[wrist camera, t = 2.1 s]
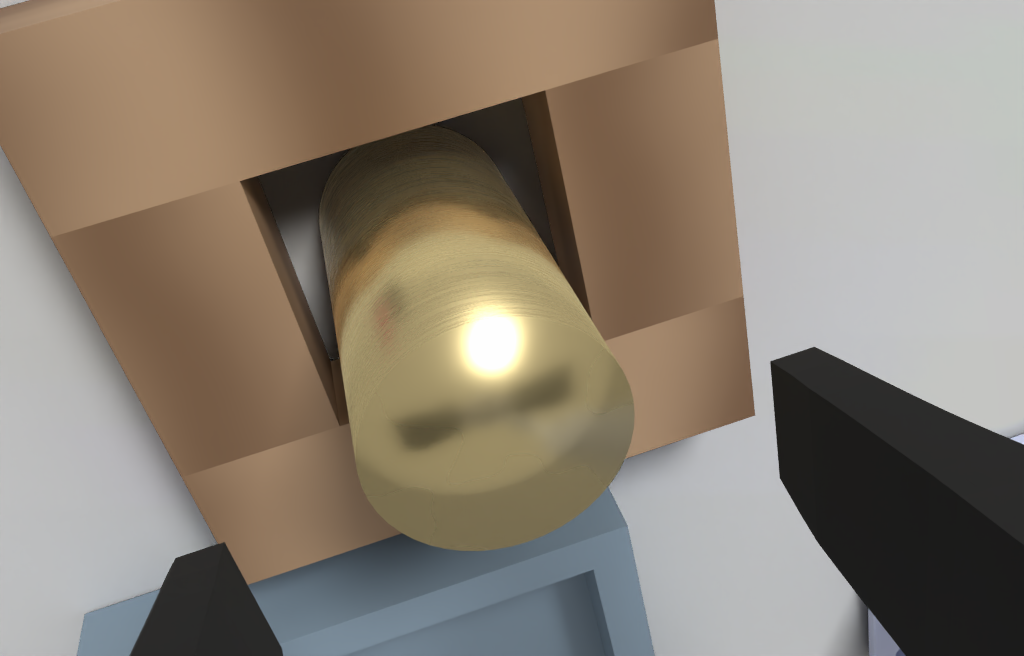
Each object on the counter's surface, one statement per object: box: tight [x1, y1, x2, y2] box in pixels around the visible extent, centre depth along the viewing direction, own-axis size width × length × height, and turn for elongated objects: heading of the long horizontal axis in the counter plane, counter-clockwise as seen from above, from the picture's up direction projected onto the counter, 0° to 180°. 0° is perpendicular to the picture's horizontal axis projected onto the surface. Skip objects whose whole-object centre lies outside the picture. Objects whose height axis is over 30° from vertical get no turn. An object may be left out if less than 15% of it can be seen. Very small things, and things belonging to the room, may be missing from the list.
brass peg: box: [319, 125, 635, 551], centre depth 17 cm, size 4×4×8 cm
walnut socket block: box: [0, 0, 755, 585], centre depth 19 cm, size 12×12×2 cm
